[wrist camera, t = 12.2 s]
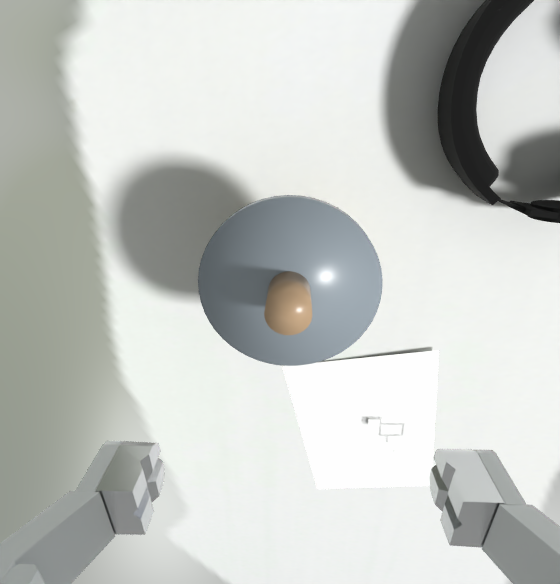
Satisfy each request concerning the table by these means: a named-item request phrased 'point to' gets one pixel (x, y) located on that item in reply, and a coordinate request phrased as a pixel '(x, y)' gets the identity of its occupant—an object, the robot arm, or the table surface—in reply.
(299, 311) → the lid
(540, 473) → the table surface
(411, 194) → the table surface
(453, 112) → the headphones
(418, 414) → the paper sheet
